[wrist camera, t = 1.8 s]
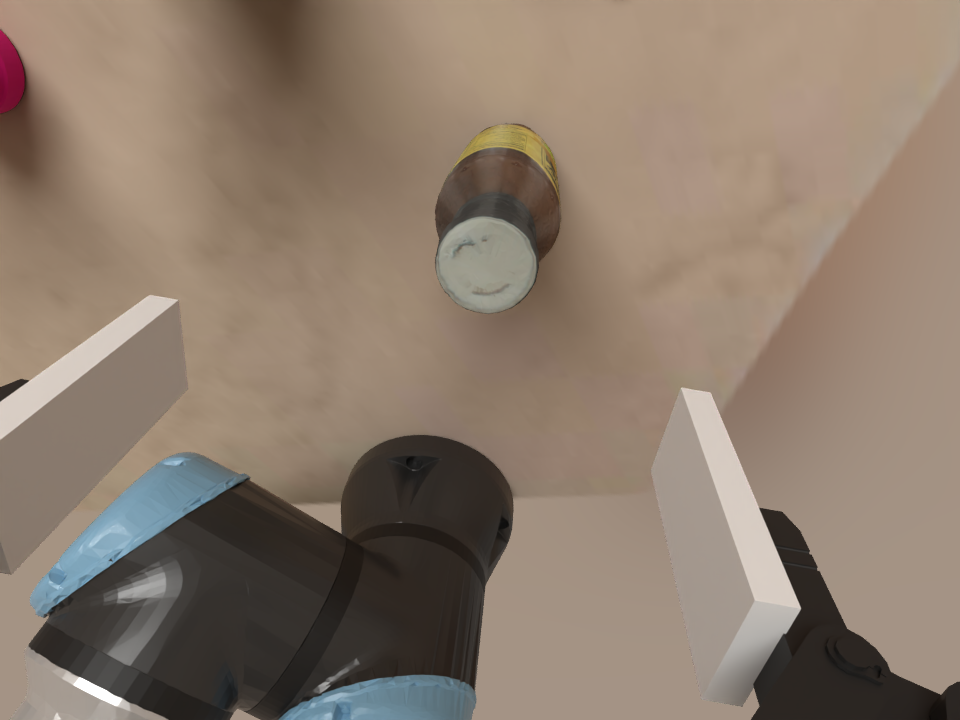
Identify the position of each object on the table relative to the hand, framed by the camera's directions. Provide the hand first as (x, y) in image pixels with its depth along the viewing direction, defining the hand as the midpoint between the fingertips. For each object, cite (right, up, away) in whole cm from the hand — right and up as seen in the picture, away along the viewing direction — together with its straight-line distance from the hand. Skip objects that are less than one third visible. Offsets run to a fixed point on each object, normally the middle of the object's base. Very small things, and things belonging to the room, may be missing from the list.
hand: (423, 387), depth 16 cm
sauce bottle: (+3, +14, +25) cm, 29 cm away
